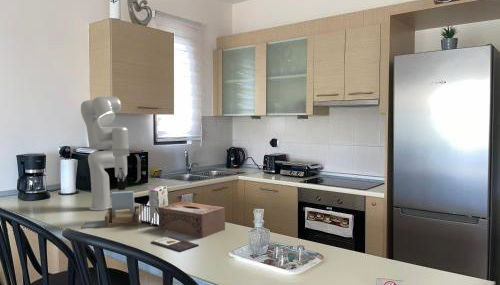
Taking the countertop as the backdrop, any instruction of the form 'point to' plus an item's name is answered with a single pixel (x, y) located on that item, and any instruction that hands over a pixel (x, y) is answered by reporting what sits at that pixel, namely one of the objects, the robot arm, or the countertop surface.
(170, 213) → the tissue box cover
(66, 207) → the countertop surface
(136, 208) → the rack
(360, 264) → the countertop surface
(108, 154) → the robot arm
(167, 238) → the chocolate bar
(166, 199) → the candy bar box
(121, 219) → the offcut lower
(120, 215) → the offcut upper
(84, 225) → the mat
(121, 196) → the panel
